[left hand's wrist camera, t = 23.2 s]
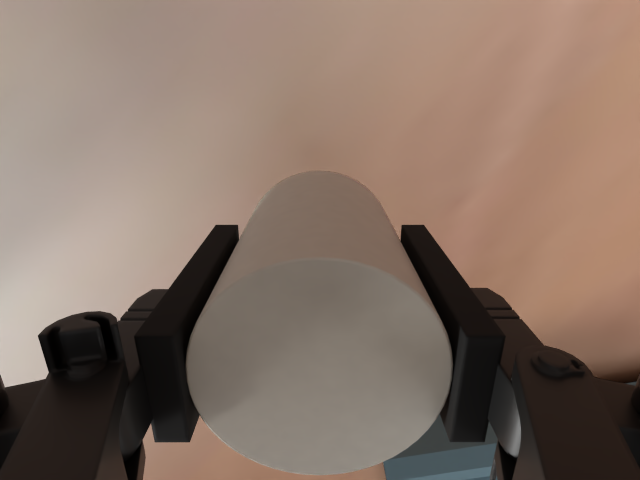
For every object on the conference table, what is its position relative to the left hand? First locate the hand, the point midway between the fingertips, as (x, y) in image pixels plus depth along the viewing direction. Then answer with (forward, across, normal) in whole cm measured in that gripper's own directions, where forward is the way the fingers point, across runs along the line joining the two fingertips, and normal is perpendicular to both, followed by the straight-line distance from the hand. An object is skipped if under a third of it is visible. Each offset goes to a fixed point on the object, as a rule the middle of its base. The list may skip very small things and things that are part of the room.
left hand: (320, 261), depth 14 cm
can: (+2, 0, 0) cm, 2 cm away
